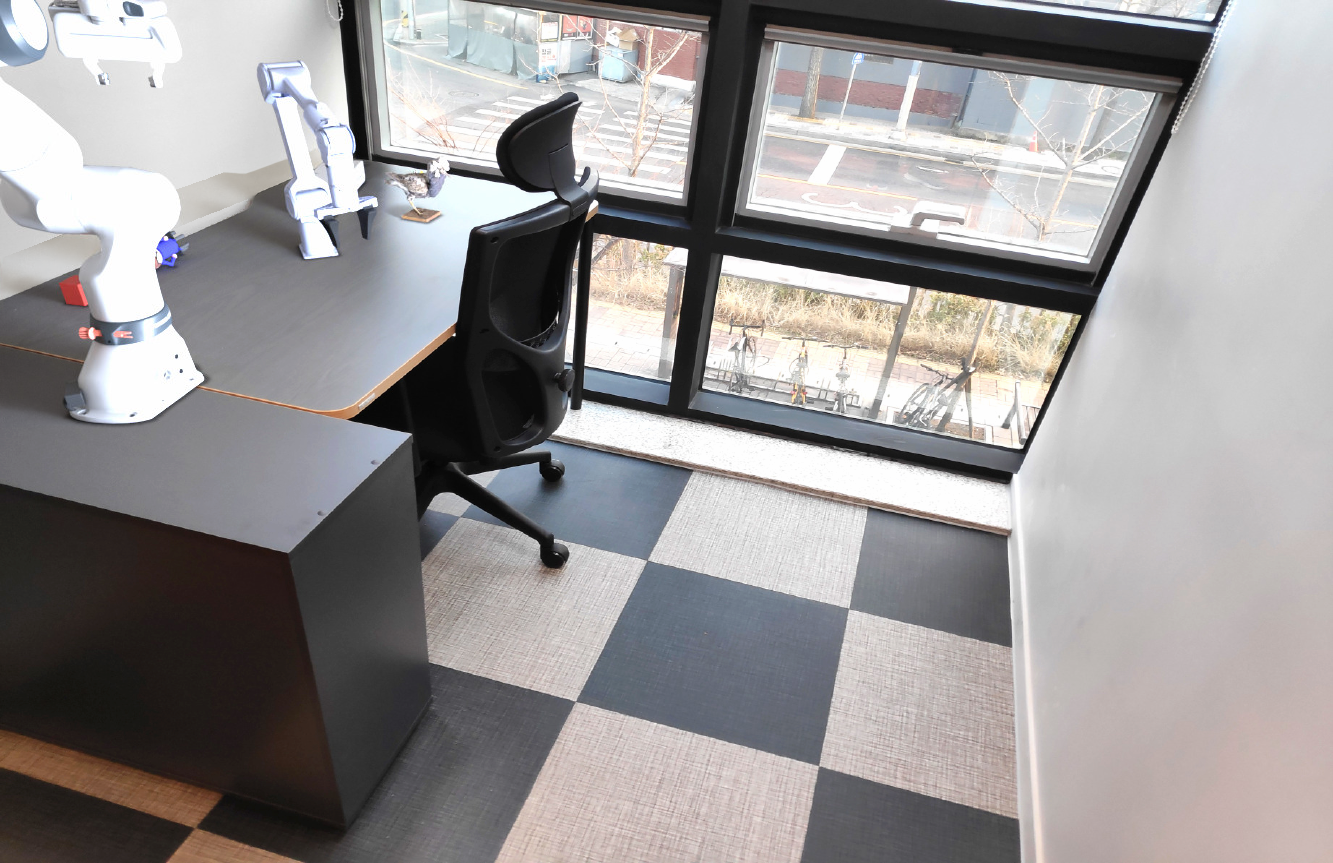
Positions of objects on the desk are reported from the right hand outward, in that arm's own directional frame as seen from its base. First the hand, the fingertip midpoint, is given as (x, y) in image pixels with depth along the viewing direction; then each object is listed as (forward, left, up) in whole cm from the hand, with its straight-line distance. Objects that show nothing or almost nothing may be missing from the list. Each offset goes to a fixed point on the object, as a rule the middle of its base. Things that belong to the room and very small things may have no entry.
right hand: (351, 242), depth 188 cm
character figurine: (-23, -40, -9) cm, 47 cm away
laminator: (-62, +4, -9) cm, 63 cm away
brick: (-8, -55, -9) cm, 57 cm away
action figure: (-64, +30, -9) cm, 71 cm away
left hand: (+2, -35, +35) cm, 50 cm away
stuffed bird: (-38, +25, -9) cm, 47 cm away
